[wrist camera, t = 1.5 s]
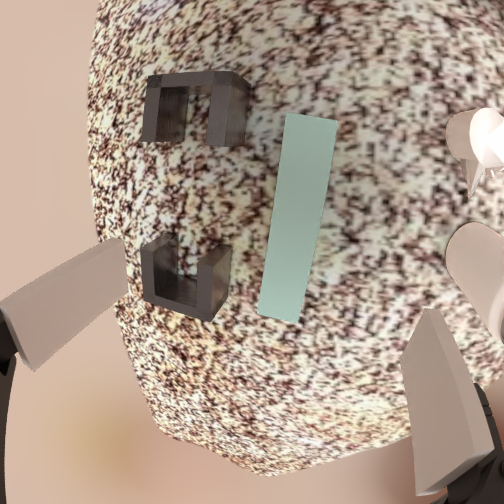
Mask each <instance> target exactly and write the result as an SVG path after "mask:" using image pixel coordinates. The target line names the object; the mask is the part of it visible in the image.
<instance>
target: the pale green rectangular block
mask: <svg viewBox="0 0 504 504" xmlns="http://www.w3.org/2000/svg"><path fill="white" fill-rule="evenodd" d="M337 124H338V121H336V120H331V119H325V118H320V117H314V116H308V115H301V114H294V113H287V112H286V118H285V126H284V133H283V141H282V148H281V156H280V163H279V170H278V177H277V184H276V191H275V198H274V205H273V212H272V219H271V226H270V233H269V239H268V246H267V253H266V259H265V266H264V272H263V279H262V285H261V292H260V298H259V304H258V311H257V314H260V315H264V316H268V317H272V318H277V319H281V320H285V321H289V322H294V323H298V319H299V315H300V311H301V307H302V303H303V299H304V295H305V291H306V287H307V283H308V279H309V274H310V270H311V266H312V261H313V257H314V252H315V248H316V243H317V238H318V233H319V229H320V224H321V219H322V214H323V209H324V203H325V198H326V193H327V187H328V181H329V176H330V170H331V164H332V158H333V151H334V145H335V138H336V131H337Z"/></svg>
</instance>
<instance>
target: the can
mask: <svg viewBox="0 0 504 504" xmlns="http://www.w3.org/2000/svg"><path fill="white" fill-rule="evenodd" d="M445 259H446V267H447V270H448V272H449V274H450V275H451V277H452V278H453V280H454V281H455V282H456V284H457V285H458V286H459V288H460V289H461V291H462V292H463V293H464V295H465V296H466V298H467V299H468V300H469V302H470V303H471V305H472V306H473V308H474V309H475V311H476V312H477V314H478V315H479V317H480V318H481V320H482V321H483V323H484V324H485V326H486V327H487V329H488V330H489V332H490V333H491V334H492V336H493V337H494V338H496V339H497V340H500V341H502V343H503V344H504V237H502V236H501V235H499V234H498V233H496V232H495V231H493V230H492V229H490V228H489V227H487V226H485V225H484V224H481V223H478V222H471V223H467V224H465V225H463V226H462V227H460V228H459V229H458V230H457V231H456V232H455V233H454V235H453V236H452V238H451V239H450V241H449V244H448V246H447V250H446V258H445Z"/></svg>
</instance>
